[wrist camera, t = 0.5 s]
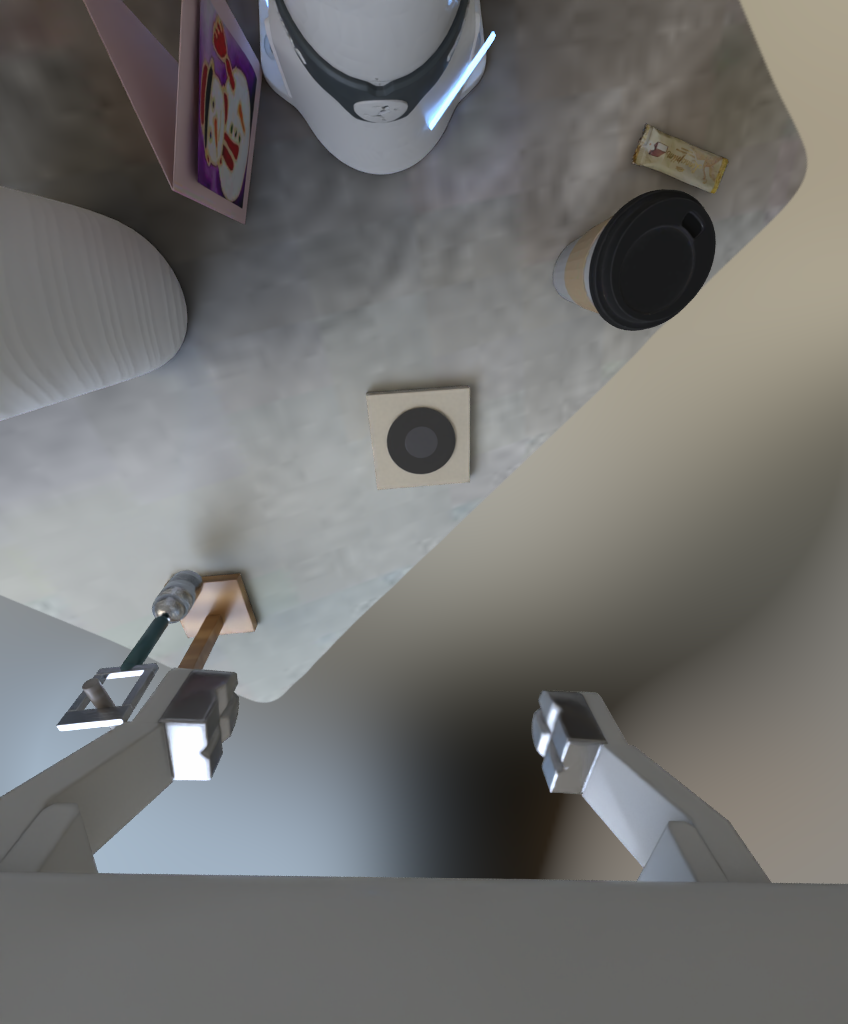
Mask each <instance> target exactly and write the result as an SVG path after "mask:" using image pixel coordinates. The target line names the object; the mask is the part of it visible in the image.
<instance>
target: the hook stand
mask: <svg viewBox="0 0 848 1024" xmlns="http://www.w3.org/2000/svg"><path fill="white" fill-rule="evenodd" d="M201 578H202V580H203V589H202V592H201V593H200V595H199V597H198V598H197V600H196V601H195V603H194V605H193V606H192V608H191V609H190V611H189V613H188V614H187V615H186V617H185V618H183V619H182V620H180V622H181V624H182V626H183V628H184V630H185V633H186V635H187V637H188V638H192V637H195V638H194V640H193V642H192V643H191V645H190V647H189V649H188V651H187V652H186V654H185V656H184V658H183V660H182V662H181V663H180V665H179V667H178V668H186V669H203V667H204V665H205V662H206V660H207V658H208V656H209V654H210V652H211V650H212V648H213V646H214V644H215V642H216V640H217V638H218V636H219V635H223V634H234V633H244V632H254V631H255V629H256V627H257V622H256V619H255V616H254V613H253V610H252V607H251V604H250V601H249V598H248V595H247V592H246V589H245V587H244V584H243V581H242V578H241V575H240V573H238V574H227V575H216V576H205V577H201ZM168 582H169V580H168ZM168 582H167V583H168ZM167 583H166V584H167ZM166 584H165V586H166ZM165 586H164V587H165ZM82 689H83V690H84V691H85V693H86V694H87V696H88V697H89V699H90V700H91V702H92V703H93V704H94V706H95V707H96V709H97V708H106V707H116V706H115V704H114V703H113V701H112V700H111V698H110V697H109V695H108V694H107V692H106V691H105V689H104V688H103V686H102V684H101V683H100V681H99V680H98V679H97V678H92V679H90V680H88V681H86V682H85V683H84V684H83V686H82ZM117 726H119V725H114V726H109V727H110V729H111V730H112V729H114V728H115V727H117Z"/></svg>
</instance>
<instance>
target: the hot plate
mask: <svg viewBox="0 0 848 1024" xmlns="http://www.w3.org/2000/svg"><path fill="white" fill-rule="evenodd" d="M366 398H367V407H368V415H369V423H370V432H371V440H372V449H373V457H374V465H375V474H376V482H377V490H381V489H393V488H405V487H418V486H430V485H442V484H454V483H467V482H470V388H469V387H468V386H456V387H442V388H428V389H414V390H400V391H385V392H371V393H367V394H366Z"/></svg>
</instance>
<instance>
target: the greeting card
mask: <svg viewBox="0 0 848 1024" xmlns="http://www.w3.org/2000/svg"><path fill="white" fill-rule="evenodd" d="M83 1H84V3H85V5H86V8H87V10H88V12H89V14H90V16H91V18H92V20H93V22H94V25H95V27H96V29H97V31H98V33H99V35H100V37H101V39H102V42H103V44H104V46H105V48H106V50H107V52H108V54H109V56H110V59H111V61H112V63H113V65H114V67H115V69H116V71H117V73H118V76H119V78H120V80H121V82H122V84H123V86H124V88H125V90H126V93H127V95H128V97H129V99H130V101H131V103H132V105H133V107H134V110H135V112H136V114H137V116H138V118H139V120H140V122H141V124H142V127H143V129H144V131H145V133H146V135H147V137H148V139H149V141H150V144H151V146H152V148H153V150H154V152H155V154H156V156H157V158H158V161H159V163H160V165H161V167H162V169H163V171H164V173H165V175H166V178H167V180H168V182H169V184H170V186H171V188H172V190H173V191H175V192H177V193H179V194H181V195H183V196H185V197H187V198H189V199H192V200H194V201H196V202H198V203H200V204H202V205H204V206H206V207H208V208H211V209H213V210H215V211H217V212H219V213H221V214H223V215H225V216H227V217H229V218H232V219H234V220H236V221H238V222H240V223H242V224H244V225H245V220H246V211H247V203H248V194H249V186H250V177H251V168H252V160H253V151H254V143H255V134H256V126H257V117H258V109H259V100H260V91H261V83H262V74H263V71H262V67H261V64H260V63H259V61H258V59H257V57H256V55H255V54H254V52H253V50H252V48H251V46H250V44H249V43H248V41H247V39H246V37H245V35H244V34H243V32H242V30H241V28H240V26H239V24H238V23H237V21H236V19H235V17H234V15H233V14H232V12H231V10H230V8H229V6H228V5H227V3H226V1H225V0H182V6H181V27H180V47H179V64H178V62H177V61H176V60H175V59H174V58H173V57H172V56H171V54H170V53H169V52H168V51H167V50H166V49H165V48H164V47H163V46H162V45H161V43H160V42H159V41H158V40H157V39H156V38H155V37H154V36H153V35H152V34H151V32H150V31H149V30H148V29H147V28H146V27H145V26H144V25H143V24H142V23H141V21H140V20H139V19H138V18H137V17H136V16H135V15H134V14H133V13H132V12H131V10H130V9H129V8H128V7H127V6H126V5H125V4H124V3H123V2H122V0H83Z"/></svg>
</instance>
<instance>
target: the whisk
mask: <svg viewBox="0 0 848 1024" xmlns="http://www.w3.org/2000/svg"><path fill="white" fill-rule="evenodd" d="M202 589H203V580H202V578H201V576H200V575H199V574H198V573H196V572H194V571H190V570H185V571H180V572H178V573H176V574H175V575H174V576H173V577H172V578H171V579H170V580H169V582H168V583H167V584H166V586H165V587H164V588H163V590H162V591H161V592H160V594H159V595H158V596H157V598H156V599H155V601H154V602H153V606H152V612H153V615H154V617H155V619H154V620H153V622H152V623H151V624H150V626H149V627H148V629H147V630H146V631H145V633H144V634H143V636H142V637H141V638H140V640H139V641H138V643H137V644H136V646H135V647H134V648H133V650H132V651H131V653H130V654H129V655H128V657H127V658H126V660H125V661H124V662H123V664H122V665H121V667H111V668H101V669H99V670H98V672H97V673H96V675H95V676H94V677H93V678H97V679H98V680H99V681H100V683H101V684H103V683H104V681H105V680H106V679H111V678H121V677H130V676H140V678H139V679H138V681H137V682H136V684H135V686H134V687H133V689H132V690H131V692H130V693H129V695H128V696H127V698H126V700H125V701H124V703H123V704H122V706H116V707H106V708H97V709H87V710H84V709H85V708H86V706H87V705H88V704H89V702H90V701H91V700H90V699H89V697H88V696H87V694H86V693H85V691H84V690H83V692H82V693H81V694H80V695H79V697H78V698H77V699H76V701H75V702H74V703H73V705H72V706H71V707H70V709H69V710H68V712H66V714H65V715H64V716H63V717H62V719H61V720H60V722H59V723H58V724H57V725H56V726H57V727H58V729H59V730H60V731H66V730H76V729H85V728H93V727H94V728H95V727H104V726H114V725H120V724H122V723H124V722H125V721H127V720H128V718H129V717H130V715H131V714H132V712H133V710H134V709H135V707H136V705H137V704H138V702H139V700H140V699H141V697H142V695H143V694H144V692H145V690H146V689H147V687H148V685H149V684H150V682H151V680H152V679H153V677H154V676H155V673H156V672H157V670H158V669H159V667H158V665H157V664H156V663H151V664H143V662H144V661H145V659H146V658H147V656H148V655H149V653H150V652H151V650H152V649H153V647H154V646H155V644H156V643H157V641H158V640H159V638H160V637H161V635H162V633H163V632H164V630H165V629H166V627H167V626H168V624H171V623H176V622H178V621H180V620H182V619H183V618H185V617H186V615H187V614H188V613H189V611H190V609H191V608H192V606H193V605H194V603H195V601H196V600H197V598H198V597H199V595H200V593H201V592H202Z"/></svg>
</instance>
